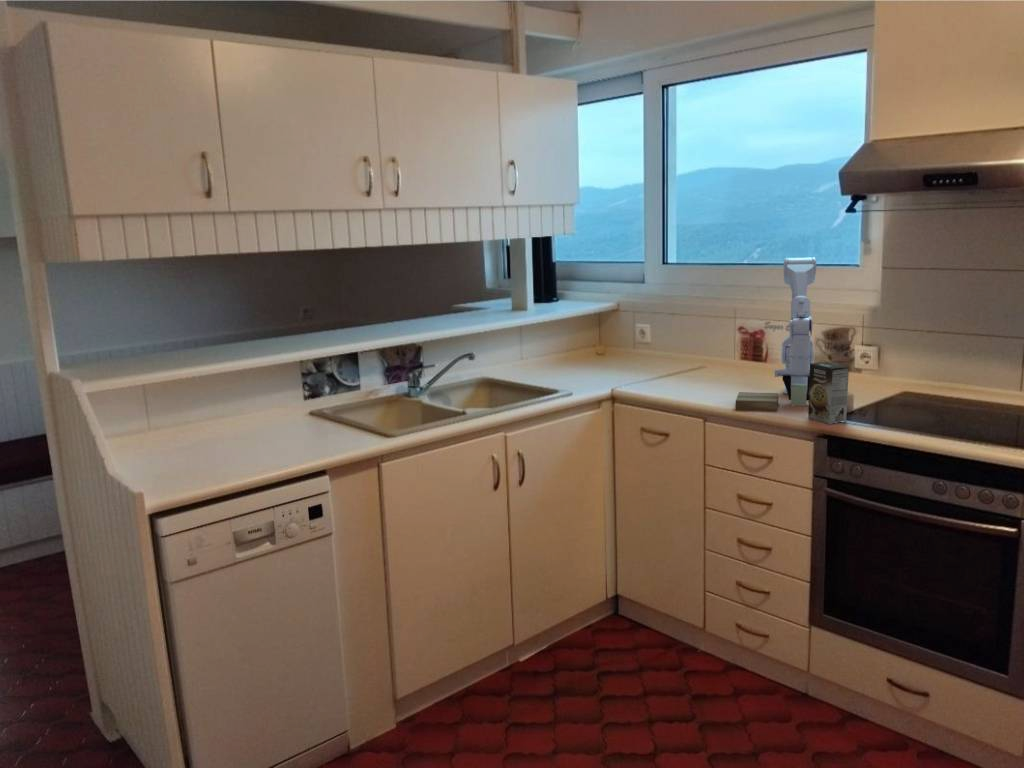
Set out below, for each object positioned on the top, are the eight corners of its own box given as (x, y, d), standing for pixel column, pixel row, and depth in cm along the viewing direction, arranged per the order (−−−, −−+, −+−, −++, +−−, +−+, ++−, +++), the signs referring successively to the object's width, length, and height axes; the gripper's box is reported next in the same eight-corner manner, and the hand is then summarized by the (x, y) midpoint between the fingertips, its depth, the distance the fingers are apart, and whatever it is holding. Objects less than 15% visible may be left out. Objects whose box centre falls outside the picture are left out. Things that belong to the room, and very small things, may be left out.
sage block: (791, 402, 257) (791, 383, 255) (806, 402, 255) (806, 384, 254) (790, 405, 252) (791, 386, 251) (806, 406, 251) (806, 387, 250)
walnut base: (738, 401, 261) (739, 392, 260) (778, 402, 257) (778, 393, 256) (735, 409, 250) (735, 400, 249) (776, 411, 246) (776, 401, 245)
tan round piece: (835, 408, 247) (835, 392, 246) (852, 408, 245) (853, 392, 244) (835, 412, 242) (836, 395, 241) (853, 412, 241) (854, 396, 240)
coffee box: (806, 418, 237) (808, 363, 233) (824, 415, 239) (826, 361, 236) (829, 424, 228) (831, 368, 225) (847, 422, 230) (849, 365, 227)
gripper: (774, 358, 250) (773, 401, 252) (825, 359, 245) (823, 403, 247) (775, 354, 256) (774, 396, 259) (825, 355, 251) (823, 398, 254)
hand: (798, 399), depth 253 cm, fingers closed on sage block, 4 cm apart
